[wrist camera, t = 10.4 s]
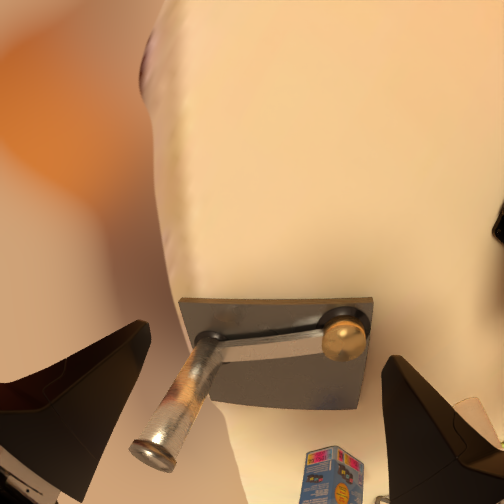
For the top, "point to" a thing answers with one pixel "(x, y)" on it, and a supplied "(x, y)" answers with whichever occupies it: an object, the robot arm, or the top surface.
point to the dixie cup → (478, 420)
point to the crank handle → (207, 366)
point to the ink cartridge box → (332, 478)
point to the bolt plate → (280, 369)
